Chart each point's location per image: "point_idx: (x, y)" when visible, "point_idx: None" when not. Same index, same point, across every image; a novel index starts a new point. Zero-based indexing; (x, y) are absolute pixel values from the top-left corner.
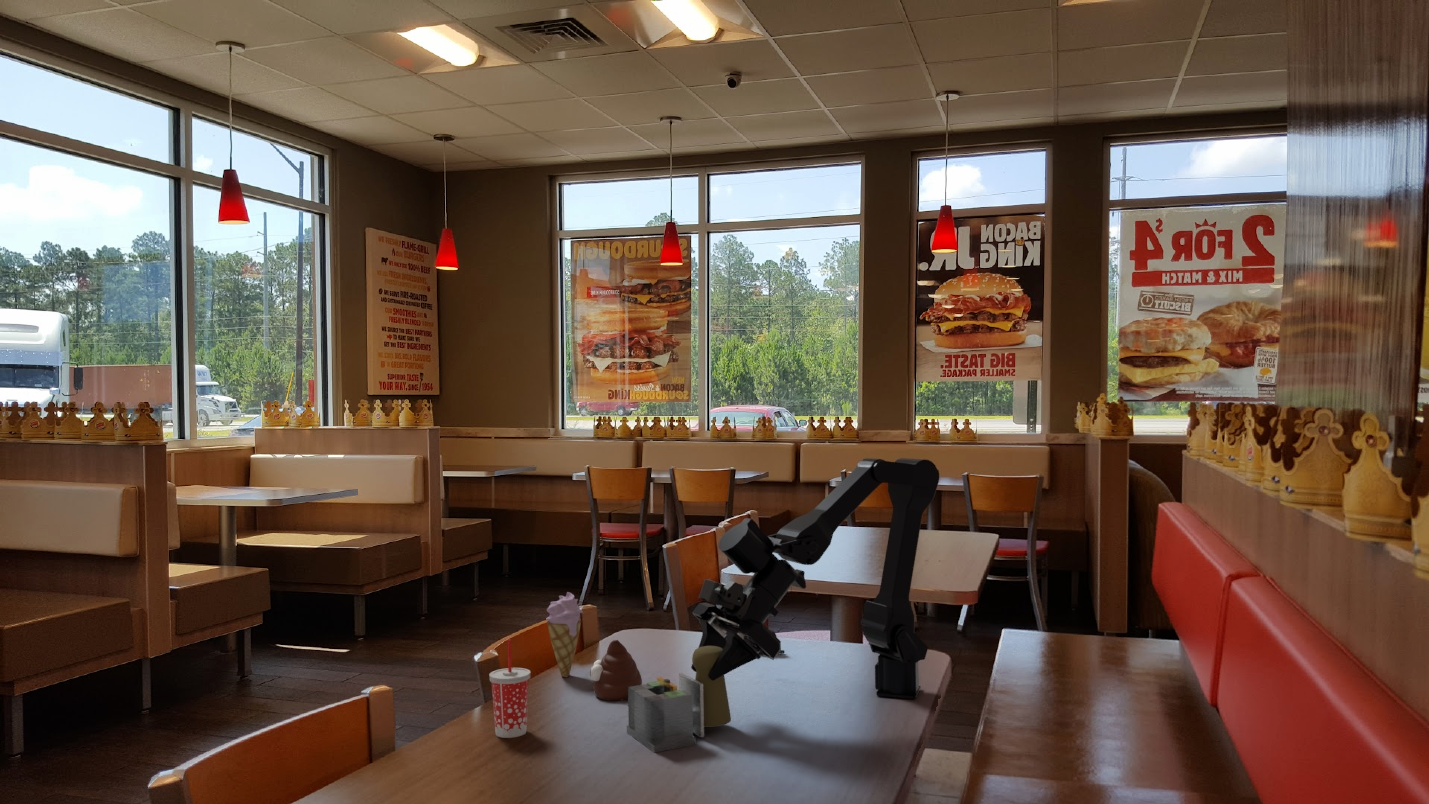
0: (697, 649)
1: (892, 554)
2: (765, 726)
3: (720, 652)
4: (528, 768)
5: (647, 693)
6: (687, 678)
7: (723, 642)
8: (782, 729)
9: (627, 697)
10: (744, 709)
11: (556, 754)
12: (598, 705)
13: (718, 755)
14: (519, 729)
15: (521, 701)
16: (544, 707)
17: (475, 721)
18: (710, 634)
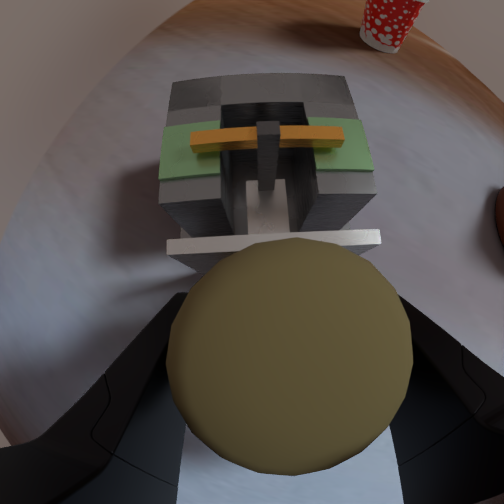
0: (337, 274)
1: None
2: None
3: (186, 420)
4: (232, 22)
5: (252, 89)
6: (297, 233)
7: (423, 497)
8: (189, 455)
9: (498, 229)
10: None
11: (267, 44)
12: (480, 174)
13: (109, 260)
14: (364, 33)
15: (374, 6)
16: (473, 111)
17: (425, 41)
18: (481, 452)
